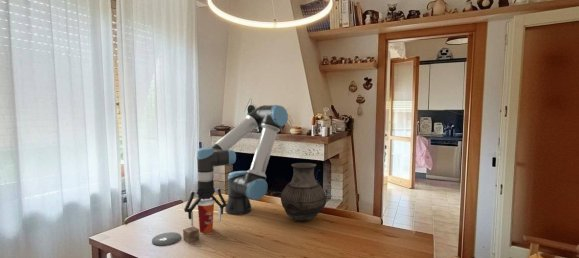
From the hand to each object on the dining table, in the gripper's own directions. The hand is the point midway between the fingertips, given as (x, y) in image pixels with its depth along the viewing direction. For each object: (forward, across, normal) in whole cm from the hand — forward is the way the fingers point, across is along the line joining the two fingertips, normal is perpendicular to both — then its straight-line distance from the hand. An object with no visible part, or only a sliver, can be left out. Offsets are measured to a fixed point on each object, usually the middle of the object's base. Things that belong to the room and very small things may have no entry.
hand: (206, 223), depth 141 cm
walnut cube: (+4, +8, +8) cm, 12 cm away
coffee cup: (+4, 0, 0) cm, 4 cm away
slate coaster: (+4, +18, +3) cm, 19 cm away
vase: (+4, -50, +7) cm, 51 cm away
